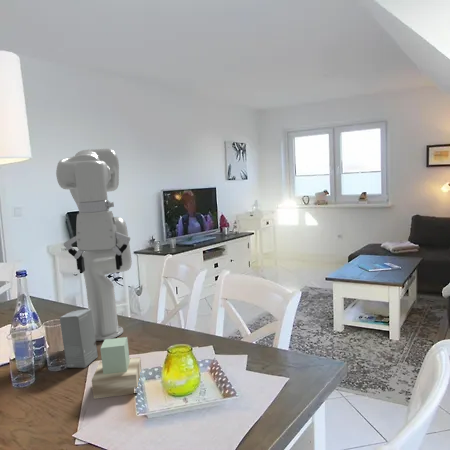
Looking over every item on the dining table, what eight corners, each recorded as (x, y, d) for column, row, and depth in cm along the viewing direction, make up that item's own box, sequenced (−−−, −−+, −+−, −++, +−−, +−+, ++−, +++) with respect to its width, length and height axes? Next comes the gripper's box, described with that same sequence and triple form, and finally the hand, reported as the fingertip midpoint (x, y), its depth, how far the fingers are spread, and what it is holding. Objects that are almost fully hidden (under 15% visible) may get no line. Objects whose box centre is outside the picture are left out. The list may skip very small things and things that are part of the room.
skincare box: (85, 368, 125) (79, 316, 124) (63, 368, 127) (57, 317, 125) (99, 356, 133) (93, 307, 132) (79, 356, 135) (73, 308, 133)
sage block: (107, 364, 115) (104, 339, 114) (129, 361, 115) (127, 337, 115) (103, 374, 109) (100, 348, 108) (126, 371, 109) (124, 345, 109)
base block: (102, 378, 117) (100, 361, 117) (141, 374, 118) (140, 356, 118) (93, 398, 107) (91, 379, 106) (137, 393, 108) (135, 374, 107)
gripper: (128, 204, 117) (134, 264, 119) (63, 208, 115) (71, 270, 117) (125, 206, 109) (131, 270, 112) (56, 211, 108) (64, 277, 110)
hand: (100, 270), depth 115 cm, fingers open, 9 cm apart
